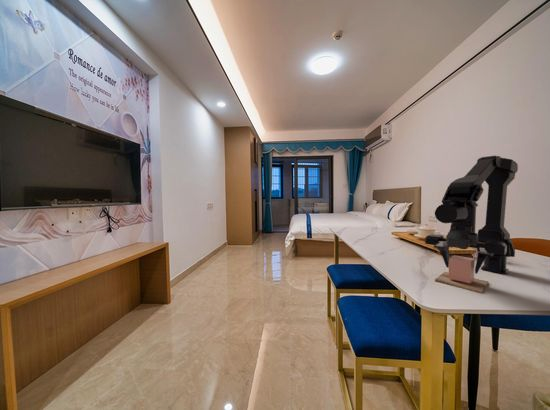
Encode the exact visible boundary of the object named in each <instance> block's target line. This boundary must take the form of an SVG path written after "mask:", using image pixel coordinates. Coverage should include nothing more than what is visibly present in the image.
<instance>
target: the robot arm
mask: <svg viewBox="0 0 550 410" xmlns="http://www.w3.org/2000/svg"><path fill="white" fill-rule="evenodd" d="M518 165H519V164H518V163H517V162H516V161H515V160H513V159H512V158H505V157H502V156H500V155H489V156H482V157H480V158H478V159H477V161H476V163H475V164H474V165H473V166H472V168H471V169H470V170H469V171H468V172H467V173H466V174H465V175H464V176H463V177H459V178H457V179H455V180H453V181H451V182H450V184H449V185H448V186H447V188H446V190H445V193H444V195H443V197H442V200H441V203H442V204H440V205H438V206H437V207H436V209H435V211H434V216H435V219H436V220H437V221H438V222H441V223H442V224H450V228H449V231H448V232H447V234H446V236H445V237H444V235H443V234H433V233H431V234H428V235H426V236H425V237H424V244H426V245H429V246H430V245H431V246H433V248H435V249H437V250H438V251H439V253H440V254H441V257H442V259H443V262H444V265H445V267H446V268H448V269H449V258H450V248H454V249H455V248H457V249H460V250H467V249H468V248H472V249H473V248H477V251H478V257H477V258H476V261H475V262H476V263H475V266H474V274H478V273H479V271H480V270H483V271H487V272H493V273H498V274H503V275H508V272H509V268H507V259H508V258H510V257H511V258H515V257H516V249H515V246H514V243H513V242H512V240H511V235H510V233H509V231H508V230H507V229H506V228H505V217H506V206H507V205H506V204H507V194H508V193H507V192H508V186H509V185H510V184H511V183H512V182H513V180H514V179H515V178H516V177H515V176H516V173H517V172H518V170H519V166H518ZM484 182H485V183H486V184H487V185H488V186H487V187H488V188H487V201H486V213H485V224H484V226H483V227H482V228H480V229H478V230H477V232H476V218H477V207H478V206H479V205H478V203H477V202H478V201H479V200H480V198H481V197H482V194H483V193H484V188H483V183H484Z"/></svg>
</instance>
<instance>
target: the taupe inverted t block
mask: <svg viewBox="0 0 550 410" xmlns="http://www.w3.org/2000/svg"><path fill="white" fill-rule="evenodd" d="M448 277H449V271H448V272H447V271H444V272H443V273H441V274H440V275H439V276H438V277H435V278H434V282H437V283H442V284H445V285H449V286H451V287H452V286H453V287H456V288H461V289H464V290H468V291H473V292H476V293H480V294H482V293H483V292H484V291H485V289H486V288H487V286H488V285H489V281H488V280H483V279H479V278H475V277H474V280H473V281H472V282H471V283H470V284H469V283H465V282H461V281H457V280H453V279H449V278H448Z"/></svg>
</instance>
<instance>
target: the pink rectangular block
mask: <svg viewBox="0 0 550 410" xmlns="http://www.w3.org/2000/svg"><path fill="white" fill-rule="evenodd" d="M475 262H476V258H474V257H472V258H471V257H467V256H466V257H465V256H460V255H455V254H453V255H452V256H449V267H448V273H449V277H448V278H449V279H453V280H457V281H461V282H465V283H469V284H470V283H471V282H472V281H473V280H474V278H475V267H476V263H475Z"/></svg>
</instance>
